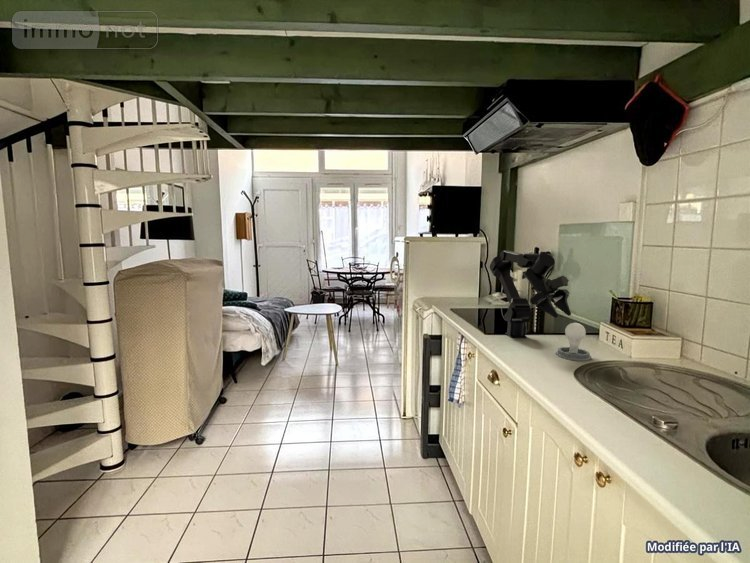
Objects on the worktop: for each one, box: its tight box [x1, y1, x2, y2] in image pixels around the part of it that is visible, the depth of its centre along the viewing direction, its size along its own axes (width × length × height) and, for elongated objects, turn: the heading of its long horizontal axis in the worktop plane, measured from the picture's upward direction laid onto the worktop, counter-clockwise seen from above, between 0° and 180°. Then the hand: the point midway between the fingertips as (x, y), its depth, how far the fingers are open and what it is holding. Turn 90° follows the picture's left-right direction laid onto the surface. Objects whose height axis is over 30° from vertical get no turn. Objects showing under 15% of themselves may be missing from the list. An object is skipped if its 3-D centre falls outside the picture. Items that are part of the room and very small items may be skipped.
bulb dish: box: [555, 346, 592, 362], centre depth 138 cm, size 11×11×2 cm
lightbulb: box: [564, 322, 587, 354], centre depth 138 cm, size 6×6×11 cm
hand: (563, 316), depth 142 cm, fingers open, 9 cm apart
